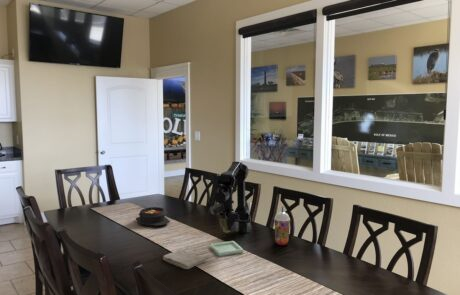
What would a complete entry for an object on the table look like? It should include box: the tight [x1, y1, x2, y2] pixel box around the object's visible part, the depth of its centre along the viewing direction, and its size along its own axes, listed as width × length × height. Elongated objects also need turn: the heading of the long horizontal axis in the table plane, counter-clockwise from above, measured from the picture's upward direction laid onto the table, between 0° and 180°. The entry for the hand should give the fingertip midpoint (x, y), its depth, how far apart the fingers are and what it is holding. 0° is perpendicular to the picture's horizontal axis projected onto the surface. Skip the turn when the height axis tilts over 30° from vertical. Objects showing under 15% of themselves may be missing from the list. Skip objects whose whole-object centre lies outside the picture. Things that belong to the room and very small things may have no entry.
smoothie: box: [273, 206, 291, 246], centre depth 196 cm, size 8×8×20 cm
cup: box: [219, 215, 234, 233], centre depth 186 cm, size 8×7×8 cm
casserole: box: [135, 206, 171, 227], centre depth 231 cm, size 25×19×8 cm
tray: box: [209, 240, 244, 257], centre depth 187 cm, size 13×13×2 cm
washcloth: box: [162, 249, 205, 270], centre depth 174 cm, size 12×18×3 cm, turn 51°
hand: (226, 228), depth 186 cm, fingers closed on cup, 6 cm apart
